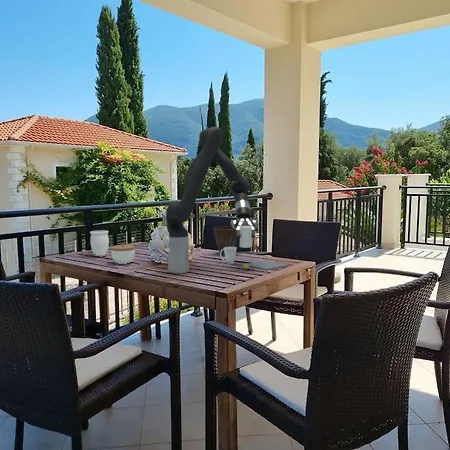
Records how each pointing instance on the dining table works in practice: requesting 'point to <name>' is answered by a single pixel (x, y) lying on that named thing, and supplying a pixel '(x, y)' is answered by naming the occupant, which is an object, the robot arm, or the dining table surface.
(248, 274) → the dining table surface
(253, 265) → the rubber mat
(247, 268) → the ball
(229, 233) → the plant pot
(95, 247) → the jar
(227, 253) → the cup
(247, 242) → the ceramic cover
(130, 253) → the lidded bowl
